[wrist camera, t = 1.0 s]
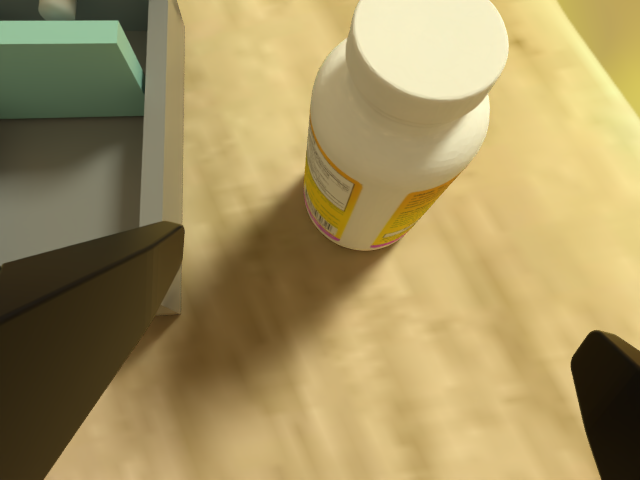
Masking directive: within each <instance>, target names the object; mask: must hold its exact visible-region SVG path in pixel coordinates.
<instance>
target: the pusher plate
mask: <svg viewBox="0 0 640 480" xmlns="http://www.w3.org/2000/svg"><path fill="white" fill-rule="evenodd" d="M145 79H146V76H145V74H144V72H143V70H142V68H141V66H140V64H139V62H138V60H137V58H136V56H135V54H134V52H133V50H132V48H131V45H130V43H129V41H128V39H127V37H126V35H125V33H124V31H123V29H122V27H121V25H120V23H119V21H0V119H24V118H67V117H111V116H144V103H145Z"/></svg>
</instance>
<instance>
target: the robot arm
mask: <svg viewBox="0 0 640 480" xmlns="http://www.w3.org/2000/svg"><path fill="white" fill-rule="evenodd" d="M184 234H185V231H184V227H183V225H181V224H178V223H174V222H170V221H160V222H157V223H153V224H149V225H145V226H142V227H138V228H134V229H130V230H127V231H123V232H119V233H115V234H112V235H108V236H104V237H100V238H97V239H93V240H89V241H85V242H82V243H78V244H74V245H70V246H67V247H63V248H59V249H55V250H52V251H48V252H44V253H40V254H37V255H33V256H29V257H25V258H22V259H18V260H14V261H10V262H7V263H3V264H2V266H0V480H44V478H45V477H46V475H47V474H48V472H49V471H50V470H51V468H52V467H53V465H54V464H55V462H56V461H57V459H58V458H59V456H60V455H61V454H62V452H63V451H64V449H65V448H66V446H67V445H68V443H69V442H70V441H71V439H72V438H73V436H74V435H75V433H76V432H77V430H78V429H79V427H80V426H81V425H82V423H83V422H84V420H85V419H86V417H87V416H88V414H89V413H90V411H91V410H92V409H93V407H94V406H95V404H96V403H97V401H98V400H99V398H100V397H101V395H102V394H103V393H104V391H105V390H106V388H107V387H108V385H109V384H110V382H111V381H112V380H113V378H114V377H115V375H116V374H117V372H118V371H119V369H120V368H121V366H122V365H123V364H124V362H125V361H126V359H127V358H128V356H129V355H130V353H131V352H132V350H133V349H134V348H135V346H136V345H137V343H138V342H139V340H140V339H141V337H142V336H143V334H144V333H145V332H146V330H147V328H148V327H149V325H150V324H151V322H152V320H153V318H154V317H155V315H156V313H157V311H158V309H159V307H160V305H161V303H162V301H163V299H164V298H165V296H166V294H167V292H168V290H169V288H170V286H171V284H172V282H173V280H174V278H175V276H176V274H177V272H178V271H179V269H180V266H181V263H182V259H183V247H184ZM571 371H572V376H573V380H574V384H575V389H576V393H577V398H578V402H579V406H580V411H581V415H582V420H583V424H584V428H585V432H586V435H587V438H588V442H589V445H590V448H591V451H592V454H593V457H594V460H595V463H596V465H597V468H598V471H599V474H600V477H601V480H640V351H639V350H637V349H636V348H634V347H633V346H632V345H630V344H629V343H627V342H626V341H624V340H623V339H621V338H620V337H618V336H616V335H615V334H612V333H608V332H604V331H600V330H594V331H592V332H590V333H589V334H588V335H587V337H586V338H585V339H584V341H583V342H582V344H581V345H580V347H579V348H578V349H577V351H576V352H575V354H574V355H573V357H572V360H571Z"/></svg>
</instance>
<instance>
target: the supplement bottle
mask: <svg viewBox="0 0 640 480" xmlns="http://www.w3.org/2000/svg"><path fill="white" fill-rule="evenodd" d="M508 46H509V43H508V36H507V32H506V28H505V25H504V22H503V20H502V18H501V16H500V14H499V12H498V11H497V9H496V8H495V6H494V5H493V4H492V3H491V2H490V1H489V0H360V1H359V2H358V4H357V6H356V8H355V11H354V14H353V18H352V22H351V27H350V32H349V35H348V37H347V38H346V39H345V40H343V41H342V42H341V43H340V44H338V45H337V46H336V47H335V48H334V49H333V50H332V51H331V52H330V53H329V55H328V56H327V57H326V59H325V60H324V62H323V63H322V65H321V67H320V69H319V71H318V73H317V76H316V79H315V82H314V86H313V90H312V97H311V105H310V116H309V129H308V141H307V151H306V164H305V175H304V200H305V205H306V208H307V211H308V214H309V216H310V218H311V220H312V222H313V223H314V225H315V226H316V227H317V228H318V230H319V231H320V232H321V233H322V234H323V235H324V236H326V237H327V238H328V239H330V240H331V241H333V242H334V243H336V244H338V245H340V246H343V247H346V248H349V249H354V250H363V251H367V250H376V249H380V248H384V247H386V246H389V245H391V244H393V243H395V242H396V241H398V240H399V239H401V238H402V237H403V236H404V235H405V234H406V233H407V232H408V231H409V230H410V229H411V228H412V227H413V226H414V225H415V223H416V222H417V221H418V220H419V219H420V218H421V217H422V216H423V215H424V213H425V212H426V211H427V210H428V209H429V208H430V207H431V205H432V204H433V203H434V202H435V201H436V200H437V199H438V198H439V196H440V195H441V194H442V193H443V192H444V191H445V190H446V189H447V187H448V186H449V185H450V184H451V183H452V182H453V181H454V180H455V179H456V177H457V176H458V175H459V174H460V173H461V172H462V171H463V170H464V169H465V168H466V167H467V165H468V164H469V163H470V162H471V161H472V159H473V158H474V157H475V155H476V154H477V152H478V151H479V149H480V147H481V145H482V143H483V141H484V139H485V137H486V133H487V130H488V124H489V114H490V106H489V97H488V93H489V91H490V90H491V88H492V87H493V85H494V84H495V82H496V81H497V79H498V78H499V76H500V74H501V73H502V71H503V69H504V67H505V64H506V61H507V57H508Z"/></svg>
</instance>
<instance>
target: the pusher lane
mask: <svg viewBox="0 0 640 480" xmlns="http://www.w3.org/2000/svg"><path fill="white" fill-rule="evenodd" d="M0 21H119V23H120V25H121V27H122V29H123V31H124V33H125V35H126V37H127V39H128V41H129V43H130V45H131V48H132V50H133V52H134V54H135V56H136V58H137V60H138V62H139V64H140V66H141V68H142V70H143V72H144V74H145V76H146V79H145V103H144V116H111V117H67V118H24V119H0V266H2V264H3V263H7V262H10V261H14V260H18V259H22V258H25V257H29V256H33V255H37V254H40V253H44V252H48V251H52V250H55V249H59V248H63V247H67V246H70V245H74V244H78V243H82V242H85V241H89V240H93V239H97V238H100V237H104V236H108V235H112V234H115V233H119V232H123V231H127V230H130V229H134V228H138V227H142V226H145V225H149V224H153V223H157V222H160V221H170V222H174V223H178V224H181V225H182V193H183V118H184V43H185V27H184V23H183V20H182V17H181V13H180V10H179V7H178V3H177V0H0ZM181 268H182V263H181V266H180V269H179V271H178V272H177V274H176V276H175V278H174V280H173V282H172V284H171V286H170V288H169V290H168V292H167V294H166V296H165V298H164V299H163V301H162V303H161V305H160V307H159V309H158V311H157V313H156V315H155V316H161V315H176V314H181Z"/></svg>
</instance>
